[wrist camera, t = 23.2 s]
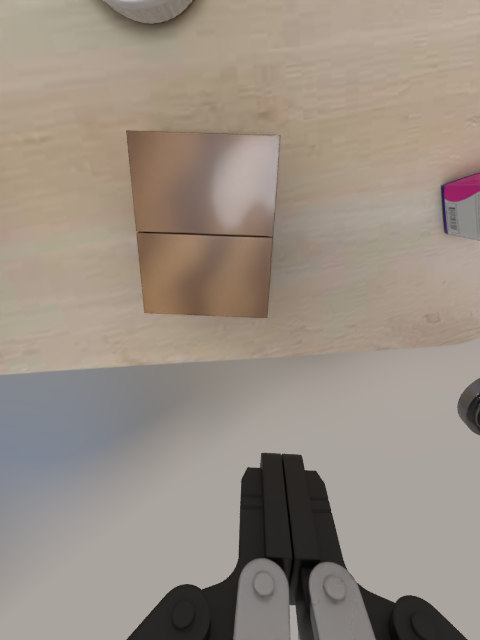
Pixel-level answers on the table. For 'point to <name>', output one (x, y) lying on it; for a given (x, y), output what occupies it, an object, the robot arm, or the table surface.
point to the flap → (205, 274)
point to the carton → (204, 182)
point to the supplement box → (462, 207)
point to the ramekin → (149, 9)
